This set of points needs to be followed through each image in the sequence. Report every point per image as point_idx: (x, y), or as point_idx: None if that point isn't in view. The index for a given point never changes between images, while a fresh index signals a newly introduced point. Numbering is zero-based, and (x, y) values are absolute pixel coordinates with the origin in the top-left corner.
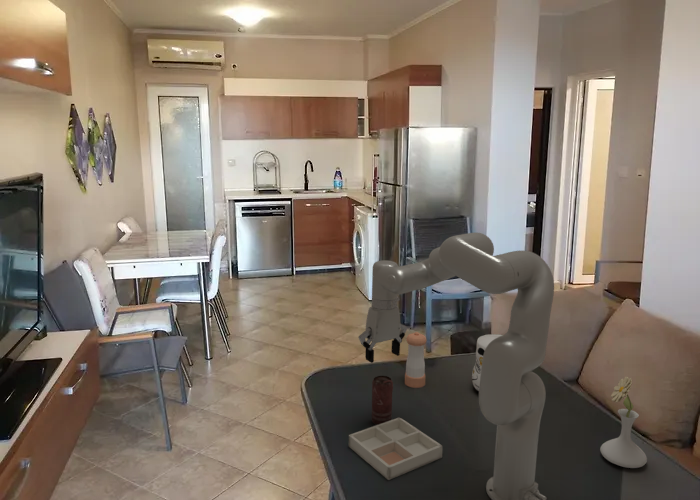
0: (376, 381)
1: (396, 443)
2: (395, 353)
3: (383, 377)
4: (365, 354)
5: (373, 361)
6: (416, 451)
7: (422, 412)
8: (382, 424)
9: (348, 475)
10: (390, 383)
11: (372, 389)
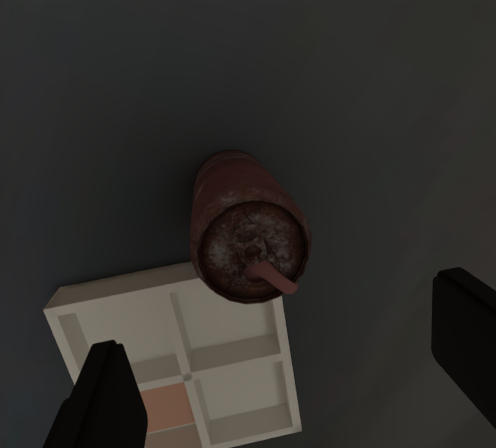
0: (212, 251)
1: (186, 388)
2: (440, 336)
3: (280, 216)
4: (51, 427)
5: (144, 425)
6: (243, 376)
7: (398, 182)
8: (192, 286)
9: (21, 403)
10: (279, 293)
11: (192, 221)
